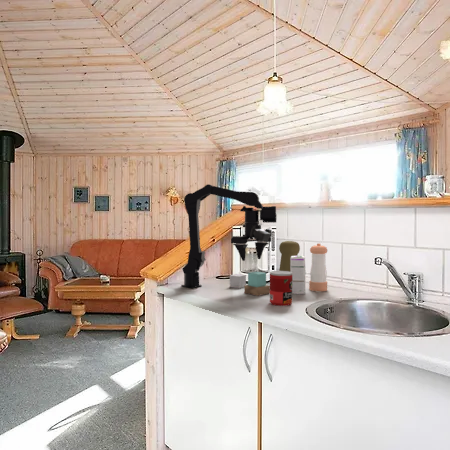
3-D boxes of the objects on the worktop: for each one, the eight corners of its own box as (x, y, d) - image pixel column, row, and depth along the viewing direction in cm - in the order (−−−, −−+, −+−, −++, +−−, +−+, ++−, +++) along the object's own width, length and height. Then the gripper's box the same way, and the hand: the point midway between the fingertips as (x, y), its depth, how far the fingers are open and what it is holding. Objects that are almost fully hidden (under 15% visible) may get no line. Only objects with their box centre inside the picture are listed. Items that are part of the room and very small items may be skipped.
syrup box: (305, 294, 158) (305, 257, 157) (290, 293, 159) (290, 256, 158) (305, 291, 163) (305, 255, 163) (290, 290, 165) (290, 255, 164)
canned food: (287, 307, 136) (287, 274, 136) (265, 304, 141) (265, 272, 140) (295, 302, 143) (296, 271, 143) (275, 300, 147) (275, 270, 147)
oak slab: (244, 292, 160) (244, 285, 160) (256, 290, 165) (256, 283, 165) (257, 295, 155) (257, 287, 155) (269, 293, 160) (269, 285, 159)
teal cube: (248, 285, 160) (248, 272, 160) (256, 283, 163) (256, 271, 163) (257, 287, 156) (257, 274, 156) (266, 285, 160) (266, 273, 159)
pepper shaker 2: (325, 288, 170) (326, 242, 170) (328, 291, 163) (329, 244, 162) (308, 288, 171) (308, 242, 170) (310, 291, 164) (310, 244, 163)
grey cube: (229, 287, 173) (229, 275, 173) (235, 285, 177) (235, 274, 177) (239, 288, 170) (239, 276, 170) (245, 286, 174) (245, 275, 174)
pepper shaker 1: (303, 286, 174) (303, 242, 174) (278, 286, 174) (279, 242, 174) (299, 282, 185) (299, 240, 184) (275, 282, 185) (276, 240, 184)
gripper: (249, 223, 156) (249, 263, 156) (281, 222, 168) (280, 260, 169) (230, 222, 164) (230, 261, 165) (261, 222, 177) (261, 257, 177)
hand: (251, 259), depth 169 cm, fingers open, 9 cm apart
